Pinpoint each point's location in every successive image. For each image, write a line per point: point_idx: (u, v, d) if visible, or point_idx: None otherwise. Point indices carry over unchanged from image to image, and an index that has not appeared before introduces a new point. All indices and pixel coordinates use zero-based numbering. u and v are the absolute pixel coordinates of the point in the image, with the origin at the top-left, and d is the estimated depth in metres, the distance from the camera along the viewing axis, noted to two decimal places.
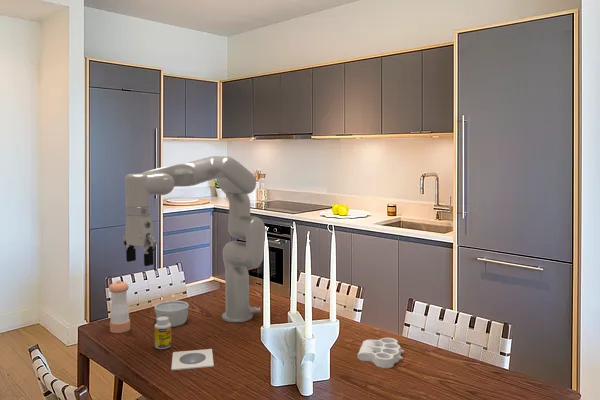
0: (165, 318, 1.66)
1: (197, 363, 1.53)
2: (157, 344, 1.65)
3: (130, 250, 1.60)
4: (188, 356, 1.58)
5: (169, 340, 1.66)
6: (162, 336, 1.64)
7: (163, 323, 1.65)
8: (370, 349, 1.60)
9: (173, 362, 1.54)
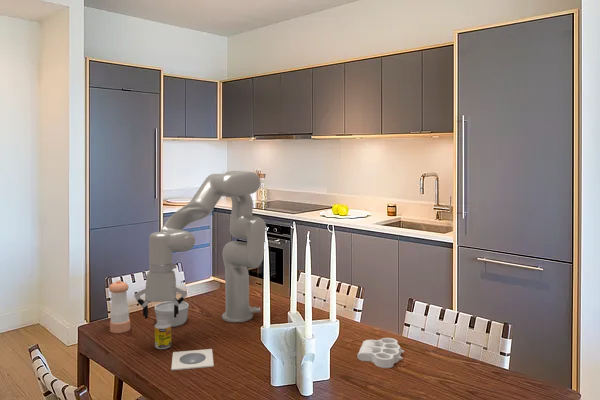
0: (165, 318, 1.66)
1: (197, 363, 1.53)
2: (157, 344, 1.65)
3: (147, 307, 1.64)
4: (188, 356, 1.58)
5: (169, 340, 1.66)
6: (162, 336, 1.64)
7: (163, 323, 1.65)
8: (370, 349, 1.60)
9: (173, 362, 1.54)
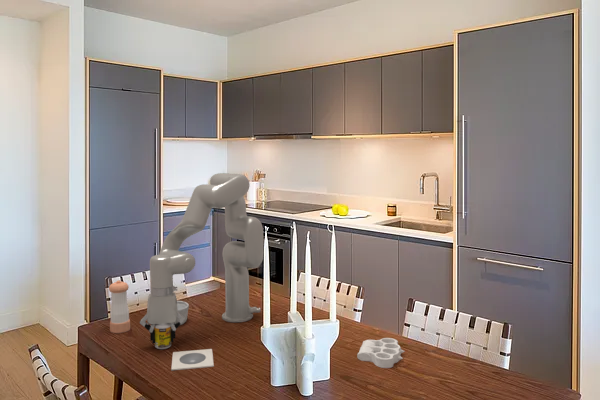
0: None
1: (197, 363, 1.53)
2: (157, 344, 1.65)
3: (154, 332, 1.66)
4: (188, 356, 1.58)
5: (169, 340, 1.66)
6: (162, 336, 1.64)
7: None
8: (370, 349, 1.60)
9: (173, 362, 1.54)
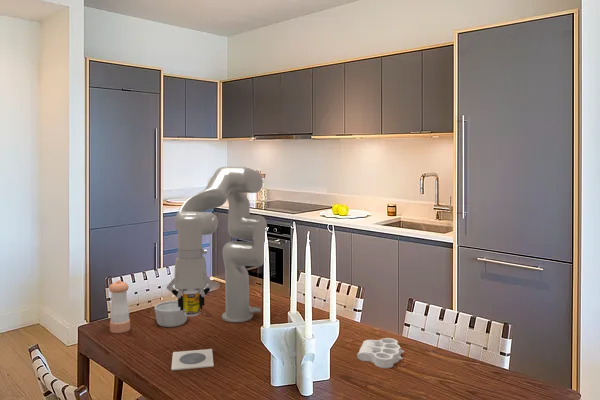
0: None
1: (197, 363, 1.53)
2: (186, 311, 1.53)
3: None
4: (188, 356, 1.58)
5: (198, 307, 1.54)
6: (191, 303, 1.52)
7: None
8: (370, 349, 1.60)
9: (173, 362, 1.54)
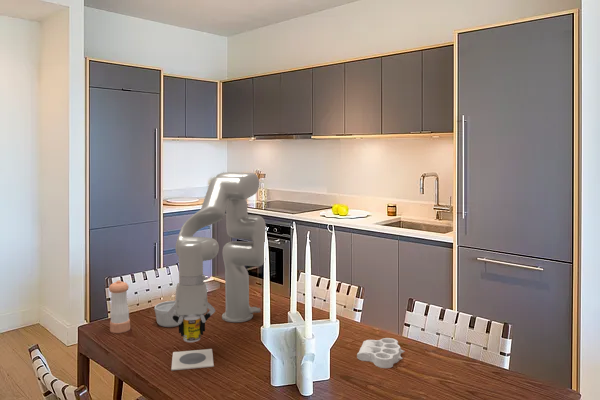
0: None
1: (197, 363, 1.53)
2: (186, 337, 1.53)
3: (182, 324, 1.54)
4: (188, 356, 1.58)
5: (199, 333, 1.55)
6: (191, 329, 1.53)
7: None
8: (370, 349, 1.60)
9: (173, 362, 1.54)
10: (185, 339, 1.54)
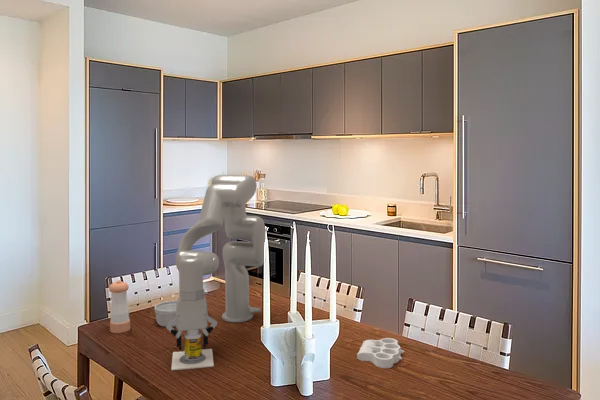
0: None
1: (197, 363, 1.53)
2: (188, 356, 1.54)
3: (180, 337, 1.55)
4: None
5: (200, 351, 1.56)
6: (192, 347, 1.54)
7: (194, 333, 1.54)
8: (370, 349, 1.60)
9: (173, 362, 1.54)
10: (186, 358, 1.55)
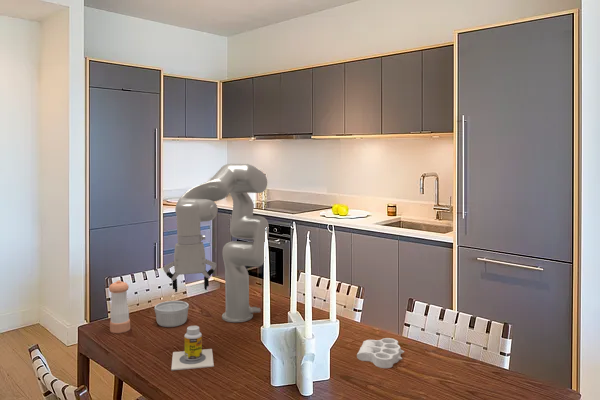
0: (196, 327, 1.56)
1: (197, 363, 1.53)
2: (187, 355, 1.54)
3: (176, 280, 1.58)
4: None
5: (200, 351, 1.56)
6: (192, 347, 1.54)
7: (194, 333, 1.54)
8: (370, 349, 1.60)
9: (173, 362, 1.54)
10: (186, 357, 1.55)
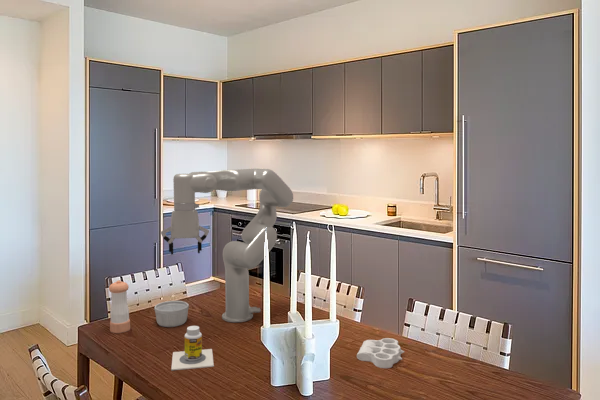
0: (196, 328, 1.56)
1: (197, 363, 1.53)
2: (187, 356, 1.54)
3: (172, 244, 1.76)
4: None
5: (200, 351, 1.56)
6: (192, 347, 1.54)
7: (194, 333, 1.54)
8: (370, 349, 1.60)
9: (173, 362, 1.54)
10: (186, 357, 1.55)
